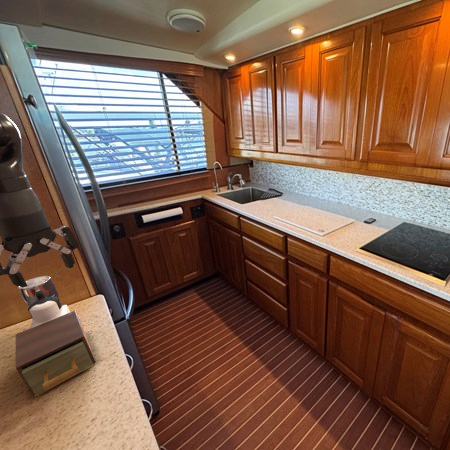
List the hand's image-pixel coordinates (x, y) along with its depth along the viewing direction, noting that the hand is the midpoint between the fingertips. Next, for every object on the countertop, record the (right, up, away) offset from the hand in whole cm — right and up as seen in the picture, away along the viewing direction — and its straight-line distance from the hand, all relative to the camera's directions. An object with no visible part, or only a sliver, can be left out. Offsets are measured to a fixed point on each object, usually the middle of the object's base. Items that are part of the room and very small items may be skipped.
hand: (48, 276), depth 56 cm
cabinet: (-2, -23, +5) cm, 24 cm away
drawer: (+2, -24, +2) cm, 24 cm away
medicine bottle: (-11, -20, +14) cm, 27 cm away
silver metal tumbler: (-17, -19, +18) cm, 31 cm away
